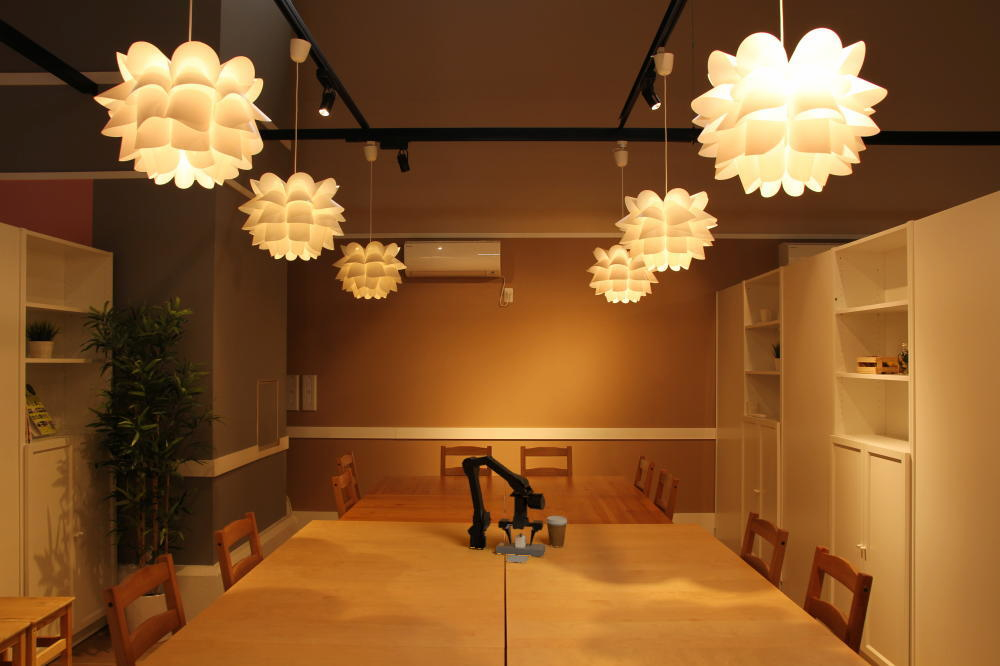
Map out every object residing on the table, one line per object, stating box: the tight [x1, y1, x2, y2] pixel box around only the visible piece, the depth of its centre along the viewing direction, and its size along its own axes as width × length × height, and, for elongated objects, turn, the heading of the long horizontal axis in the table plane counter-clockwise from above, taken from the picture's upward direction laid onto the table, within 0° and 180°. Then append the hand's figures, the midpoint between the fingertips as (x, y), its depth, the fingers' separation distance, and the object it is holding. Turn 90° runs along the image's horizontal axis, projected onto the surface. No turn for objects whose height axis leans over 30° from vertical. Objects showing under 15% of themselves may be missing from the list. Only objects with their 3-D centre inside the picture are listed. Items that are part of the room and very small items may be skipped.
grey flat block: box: [495, 541, 546, 557], centre depth 260 cm, size 20×8×4 cm, turn 79°
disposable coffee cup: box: [545, 515, 568, 547], centre depth 272 cm, size 10×10×12 cm
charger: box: [514, 533, 527, 548], centre depth 260 cm, size 4×4×8 cm
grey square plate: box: [505, 555, 529, 563], centre depth 251 cm, size 8×8×1 cm
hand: (520, 544), depth 260 cm, fingers open, 8 cm apart
